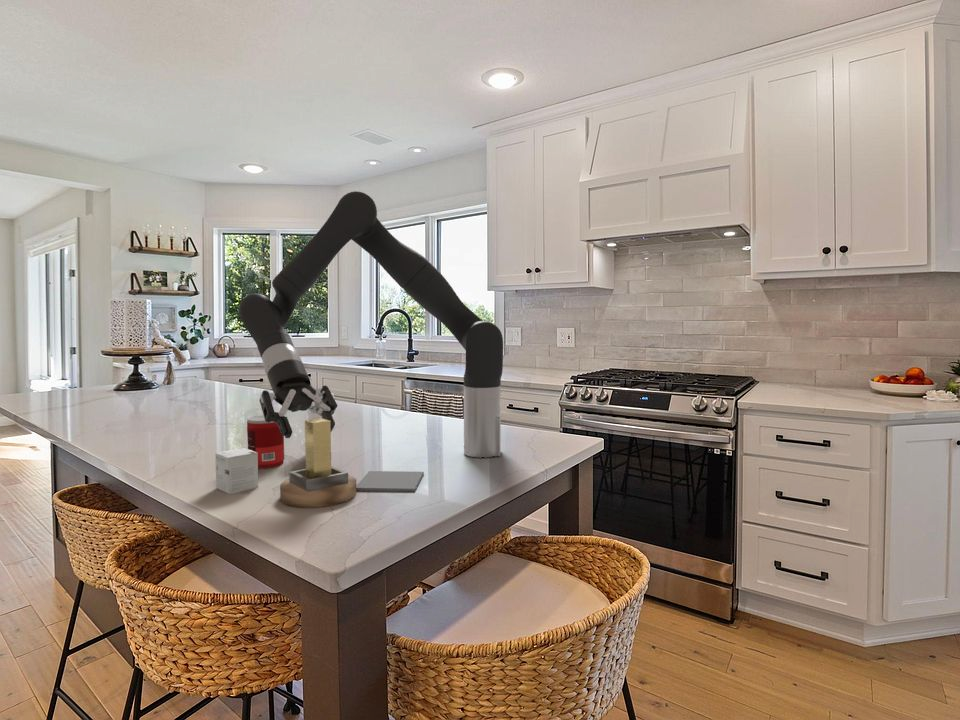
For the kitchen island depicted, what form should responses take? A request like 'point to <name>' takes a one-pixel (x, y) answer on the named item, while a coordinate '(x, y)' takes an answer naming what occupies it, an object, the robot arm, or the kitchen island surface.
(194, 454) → the kitchen island surface
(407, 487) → the mat
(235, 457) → the skincare box
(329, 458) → the brass bar
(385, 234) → the robot arm
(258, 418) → the canned food
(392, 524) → the kitchen island surface
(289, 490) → the copper round socket base
